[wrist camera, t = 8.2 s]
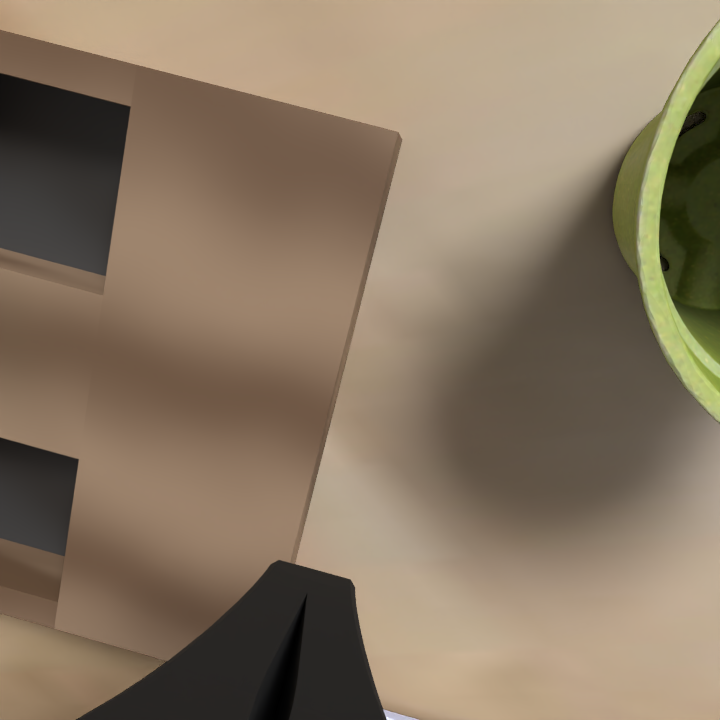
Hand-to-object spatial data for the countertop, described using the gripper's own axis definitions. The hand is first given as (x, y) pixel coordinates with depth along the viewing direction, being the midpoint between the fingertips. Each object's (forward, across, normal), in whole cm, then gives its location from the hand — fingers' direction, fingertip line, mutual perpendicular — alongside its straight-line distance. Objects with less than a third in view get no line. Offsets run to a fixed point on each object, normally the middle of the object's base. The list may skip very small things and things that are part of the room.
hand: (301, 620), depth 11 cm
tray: (+10, +9, 0) cm, 14 cm away
